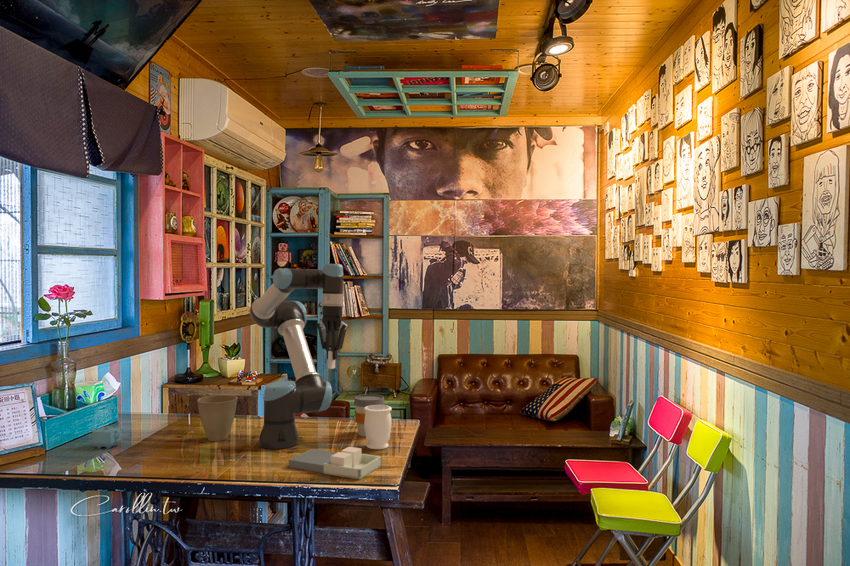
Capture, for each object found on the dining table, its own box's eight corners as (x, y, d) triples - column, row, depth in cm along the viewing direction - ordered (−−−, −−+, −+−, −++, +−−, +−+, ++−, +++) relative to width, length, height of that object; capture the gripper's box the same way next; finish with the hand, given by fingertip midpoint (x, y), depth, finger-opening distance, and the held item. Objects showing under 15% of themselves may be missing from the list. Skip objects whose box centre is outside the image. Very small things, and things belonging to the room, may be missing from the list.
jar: (387, 451, 210) (387, 411, 210) (360, 449, 212) (360, 409, 212) (394, 443, 220) (394, 405, 220) (368, 441, 222) (369, 403, 222)
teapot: (83, 448, 209) (83, 428, 209) (93, 443, 215) (94, 424, 215) (114, 449, 208) (115, 429, 208) (124, 444, 214) (124, 424, 214)
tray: (323, 473, 185) (323, 463, 185) (346, 460, 199) (347, 451, 199) (359, 479, 180) (360, 469, 180) (381, 466, 194) (381, 456, 194)
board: (288, 467, 191) (288, 459, 191) (312, 455, 204) (312, 448, 204) (323, 473, 186) (323, 465, 186) (345, 460, 199) (345, 453, 199)
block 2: (341, 465, 192) (341, 450, 192) (348, 461, 197) (348, 446, 197) (353, 467, 190) (354, 452, 190) (361, 463, 195) (361, 448, 195)
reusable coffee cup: (358, 438, 226) (359, 401, 226) (349, 431, 238) (350, 395, 238) (388, 435, 231) (388, 399, 231) (378, 428, 243) (378, 393, 243)
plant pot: (217, 432, 234) (217, 393, 234) (245, 436, 227) (245, 397, 227) (188, 441, 220) (188, 400, 220) (216, 446, 214) (217, 404, 214)
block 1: (330, 471, 186) (330, 456, 186) (338, 466, 190) (339, 451, 190) (343, 473, 184) (344, 458, 184) (351, 468, 188) (351, 453, 188)
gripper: (312, 305, 211) (311, 368, 211) (342, 306, 205) (341, 371, 205) (323, 304, 217) (322, 365, 218) (352, 305, 212) (351, 368, 212)
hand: (331, 368), depth 212 cm, fingers closed
